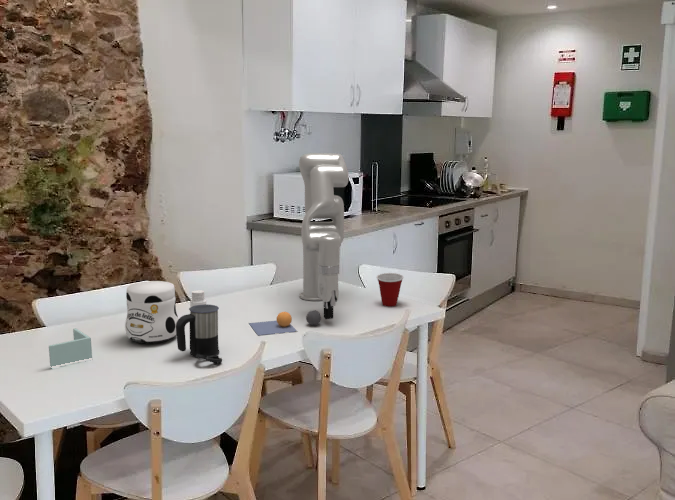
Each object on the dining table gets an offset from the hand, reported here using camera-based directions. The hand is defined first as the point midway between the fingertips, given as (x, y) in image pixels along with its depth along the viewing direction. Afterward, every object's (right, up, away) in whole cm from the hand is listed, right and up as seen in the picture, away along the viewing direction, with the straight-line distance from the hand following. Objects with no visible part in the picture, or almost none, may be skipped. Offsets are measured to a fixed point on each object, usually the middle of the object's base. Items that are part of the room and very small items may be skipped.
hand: (328, 318), depth 238 cm
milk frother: (-37, -9, -37) cm, 53 cm away
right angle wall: (-80, -9, -39) cm, 89 cm away
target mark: (-20, -3, -7) cm, 21 cm away
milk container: (-58, -5, -20) cm, 62 cm away
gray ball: (-5, +1, -4) cm, 7 cm away
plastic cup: (+24, +3, +24) cm, 34 cm away
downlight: (-48, 0, +4) cm, 48 cm away
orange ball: (-16, 0, -6) cm, 17 cm away
